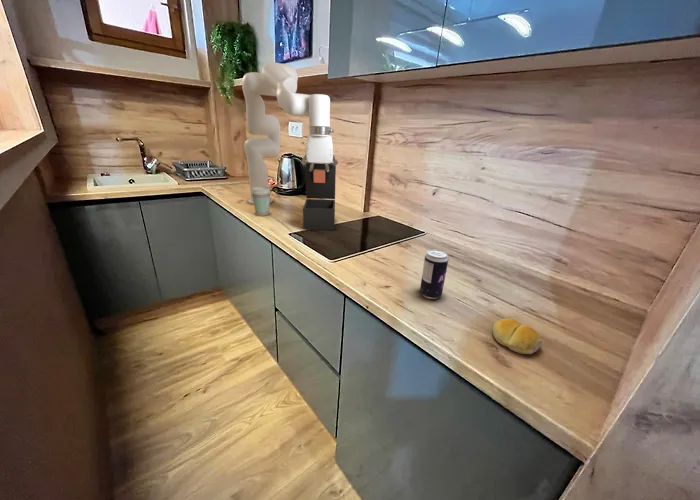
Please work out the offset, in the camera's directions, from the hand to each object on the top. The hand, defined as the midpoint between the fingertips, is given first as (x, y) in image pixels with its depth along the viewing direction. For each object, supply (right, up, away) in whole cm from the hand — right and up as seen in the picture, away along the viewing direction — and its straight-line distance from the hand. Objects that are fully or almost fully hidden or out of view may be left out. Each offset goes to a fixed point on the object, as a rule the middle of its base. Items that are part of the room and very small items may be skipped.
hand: (319, 180), depth 119 cm
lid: (-1, +2, +9) cm, 10 cm away
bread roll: (+47, -47, -55) cm, 86 cm away
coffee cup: (-29, -11, +21) cm, 37 cm away
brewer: (-1, -16, +11) cm, 19 cm away
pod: (0, 0, 0) cm, 0 cm away
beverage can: (+33, -39, -39) cm, 65 cm away
